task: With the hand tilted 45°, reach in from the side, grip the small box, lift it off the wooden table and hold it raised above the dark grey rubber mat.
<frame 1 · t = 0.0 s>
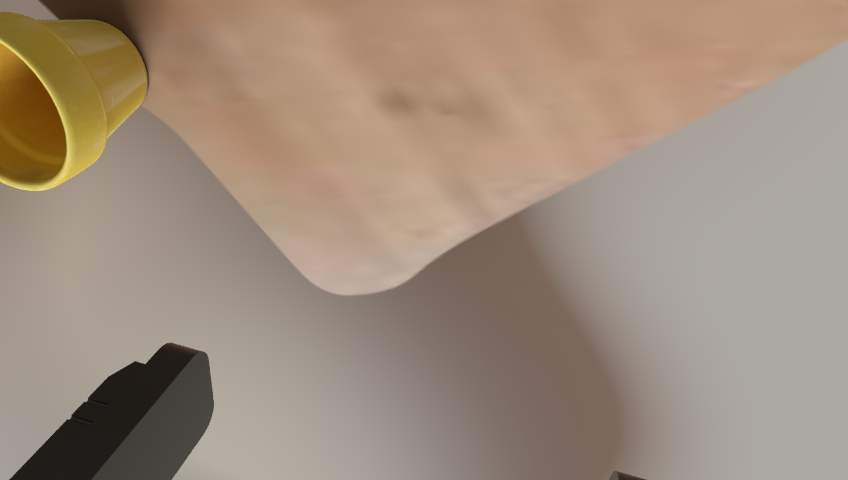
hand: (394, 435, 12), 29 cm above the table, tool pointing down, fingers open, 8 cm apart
plant pot: (108, 65, 45), on the table
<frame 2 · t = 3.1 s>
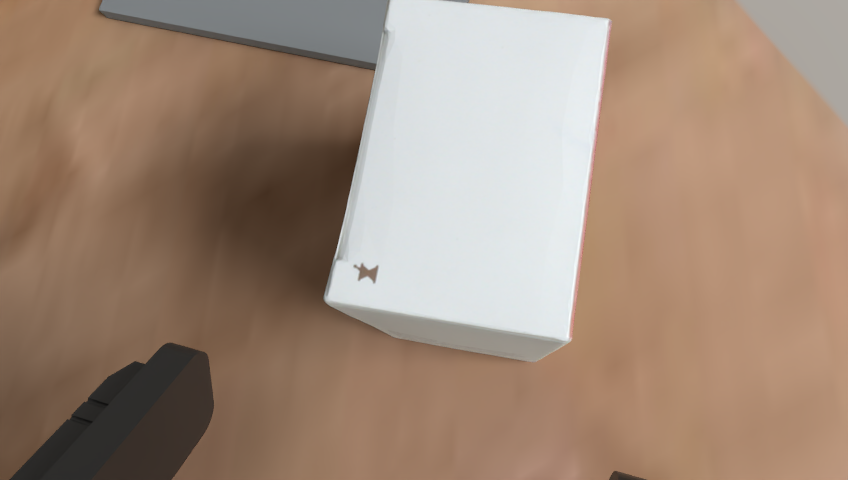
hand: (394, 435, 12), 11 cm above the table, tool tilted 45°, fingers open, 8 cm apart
small box: (479, 250, 24), on the table
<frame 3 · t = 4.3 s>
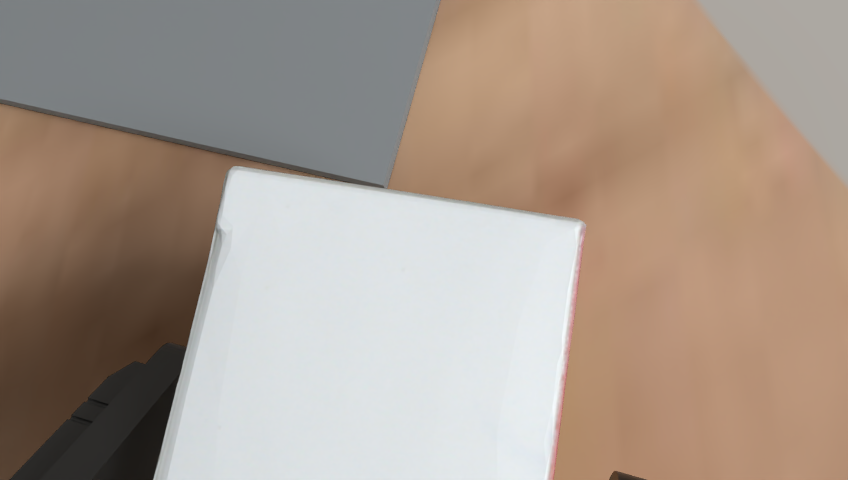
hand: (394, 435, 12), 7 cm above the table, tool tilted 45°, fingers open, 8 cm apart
small box: (425, 417, 19), on the table
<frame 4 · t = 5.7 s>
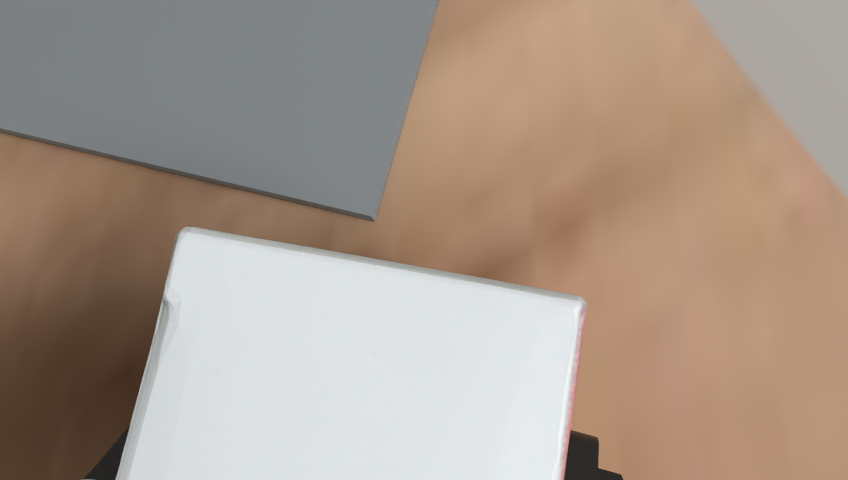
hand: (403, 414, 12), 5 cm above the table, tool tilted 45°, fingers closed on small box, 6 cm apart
small box: (415, 465, 17), on the table, touching gripper
mat: (196, 15, 21), on the table
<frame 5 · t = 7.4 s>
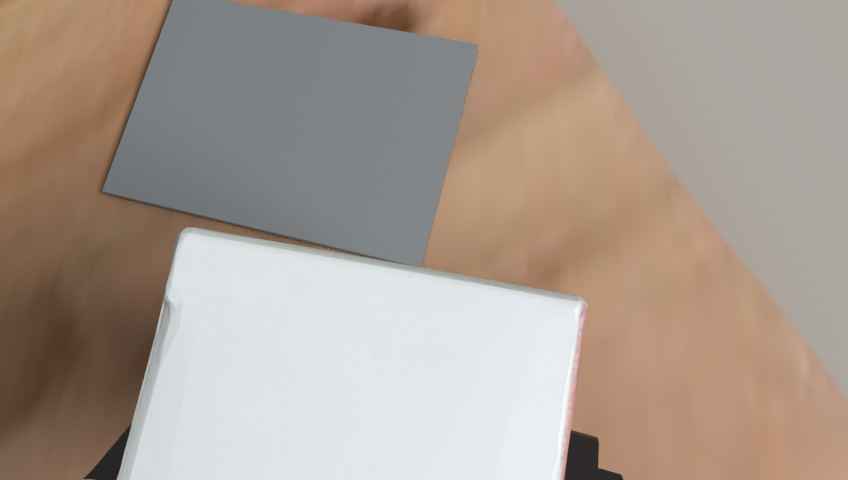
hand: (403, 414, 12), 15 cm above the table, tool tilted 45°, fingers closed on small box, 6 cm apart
small box: (415, 464, 17), point 9 cm above the table, touching gripper
mat: (291, 123, 30), on the table
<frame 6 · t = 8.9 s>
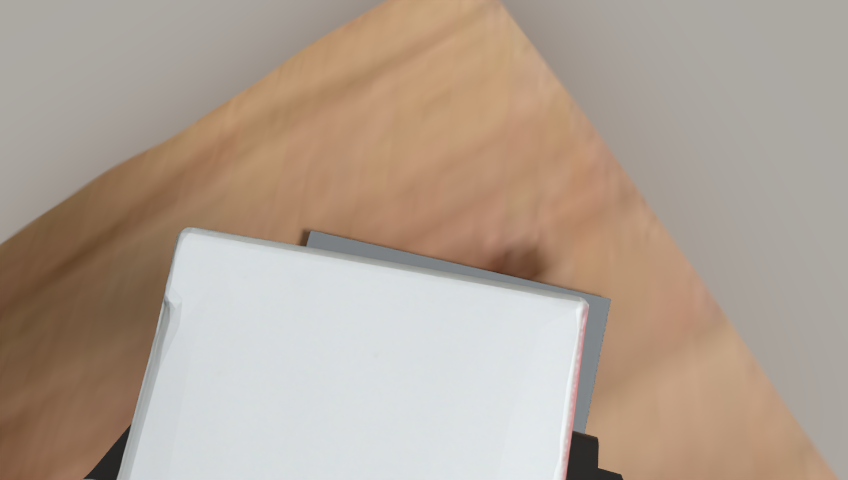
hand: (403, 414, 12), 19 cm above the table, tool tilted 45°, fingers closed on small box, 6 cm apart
small box: (416, 465, 17), point 14 cm above the table, touching gripper
mat: (429, 368, 32), on the table
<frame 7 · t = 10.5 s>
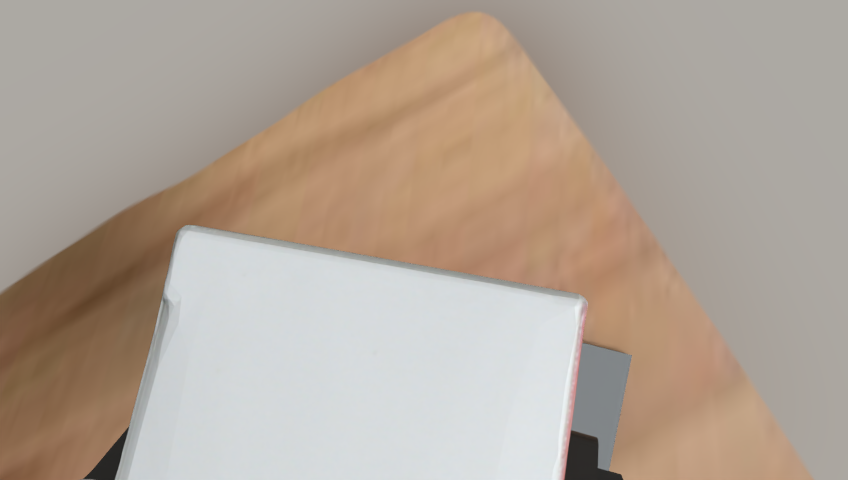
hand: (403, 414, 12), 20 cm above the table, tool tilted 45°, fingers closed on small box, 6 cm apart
small box: (415, 464, 17), point 15 cm above the table, touching gripper
mat: (449, 420, 32), on the table
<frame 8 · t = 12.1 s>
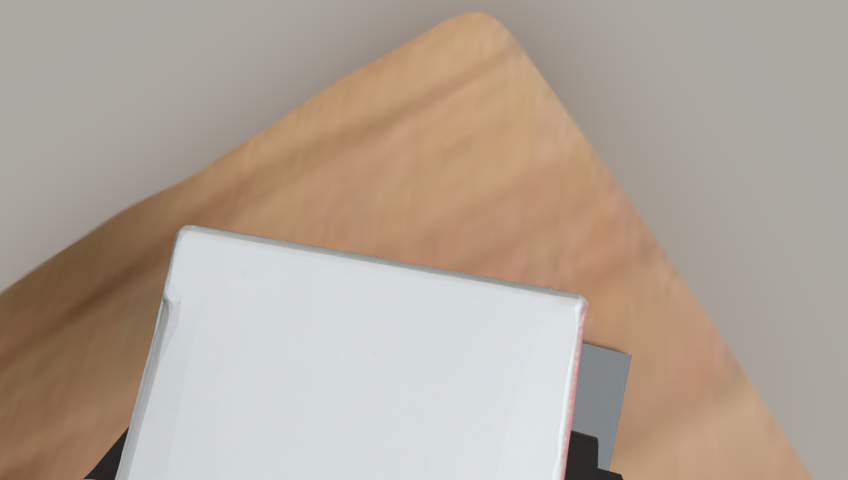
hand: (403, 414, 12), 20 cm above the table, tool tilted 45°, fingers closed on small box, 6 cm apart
small box: (415, 464, 17), point 15 cm above the table, touching gripper
mat: (449, 420, 32), on the table
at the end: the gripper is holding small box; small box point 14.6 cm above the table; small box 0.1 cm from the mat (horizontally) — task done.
